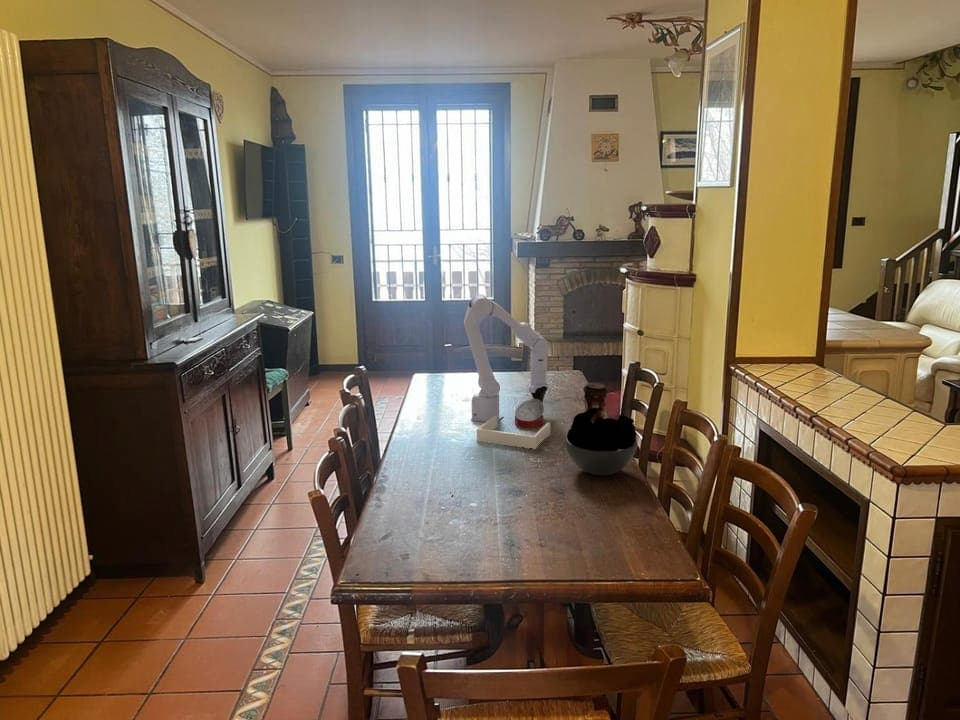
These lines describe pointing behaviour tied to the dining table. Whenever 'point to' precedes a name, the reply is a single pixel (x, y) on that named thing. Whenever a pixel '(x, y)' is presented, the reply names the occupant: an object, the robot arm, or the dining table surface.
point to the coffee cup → (595, 399)
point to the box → (510, 435)
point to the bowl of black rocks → (601, 443)
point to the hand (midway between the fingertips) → (538, 406)
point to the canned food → (529, 414)
